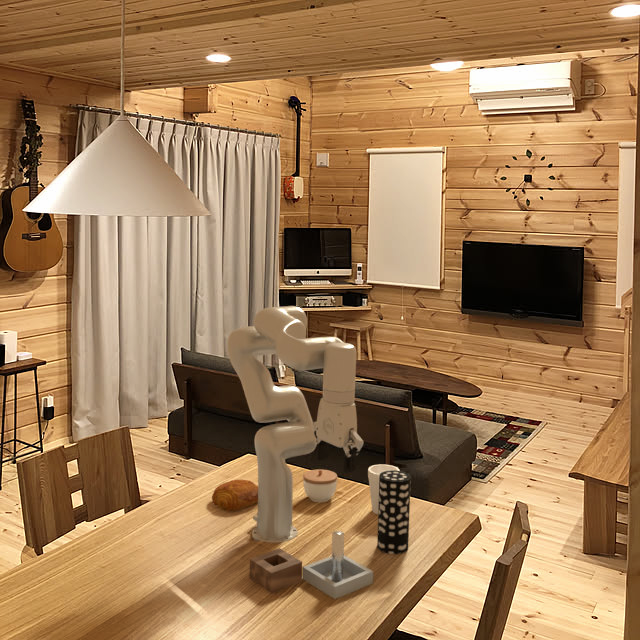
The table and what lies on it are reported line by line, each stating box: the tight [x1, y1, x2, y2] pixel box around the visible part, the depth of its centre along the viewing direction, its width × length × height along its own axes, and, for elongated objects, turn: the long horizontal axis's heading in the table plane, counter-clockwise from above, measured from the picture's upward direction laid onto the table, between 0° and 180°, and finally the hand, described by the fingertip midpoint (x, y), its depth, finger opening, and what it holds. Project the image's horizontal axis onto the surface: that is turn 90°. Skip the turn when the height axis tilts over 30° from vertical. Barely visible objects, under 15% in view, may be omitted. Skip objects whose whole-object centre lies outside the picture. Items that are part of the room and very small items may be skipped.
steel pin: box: [331, 530, 345, 583], centre depth 171 cm, size 3×3×12 cm
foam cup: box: [367, 464, 401, 515], centre depth 216 cm, size 10×9×13 cm
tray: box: [302, 555, 374, 600], centre depth 172 cm, size 12×12×4 cm
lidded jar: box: [302, 469, 338, 503], centre depth 225 cm, size 11×11×9 cm
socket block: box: [249, 547, 303, 595], centre depth 172 cm, size 9×9×6 cm
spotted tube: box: [376, 470, 412, 555], centre depth 191 cm, size 8×8×20 cm
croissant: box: [211, 479, 258, 512], centre depth 221 cm, size 14×16×8 cm
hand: (335, 465), depth 171 cm, fingers open, 9 cm apart
